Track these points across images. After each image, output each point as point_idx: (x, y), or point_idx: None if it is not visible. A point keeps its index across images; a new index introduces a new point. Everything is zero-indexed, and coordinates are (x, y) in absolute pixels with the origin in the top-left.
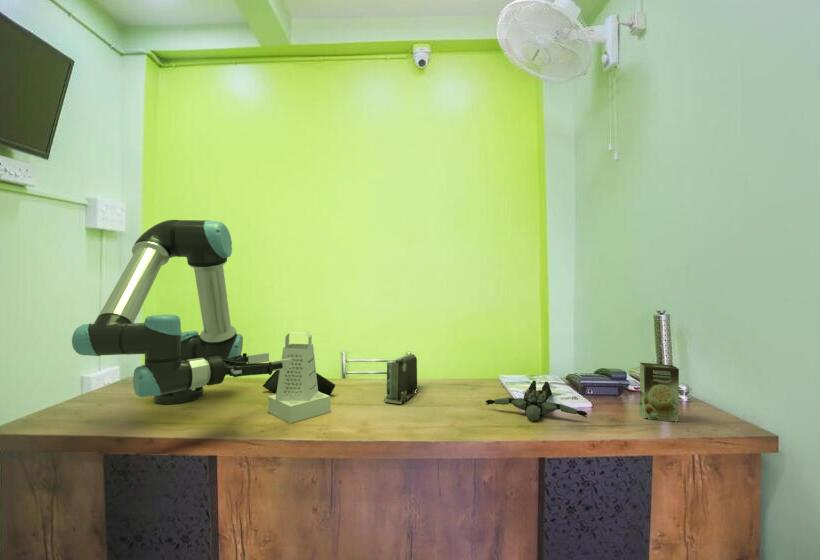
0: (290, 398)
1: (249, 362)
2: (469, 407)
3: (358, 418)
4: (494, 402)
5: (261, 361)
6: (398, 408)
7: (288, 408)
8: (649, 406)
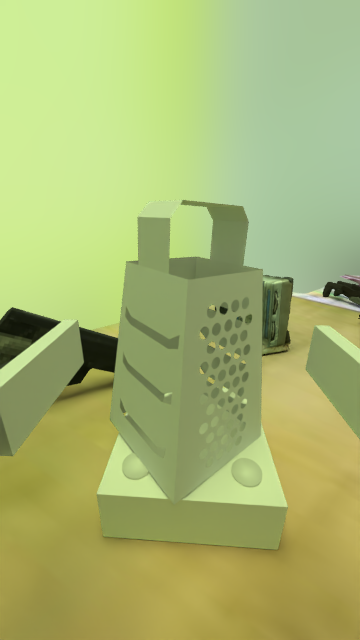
0: (219, 463)
1: (13, 437)
2: (342, 327)
3: (325, 412)
4: None
5: (64, 382)
6: (301, 358)
7: (270, 514)
8: None
